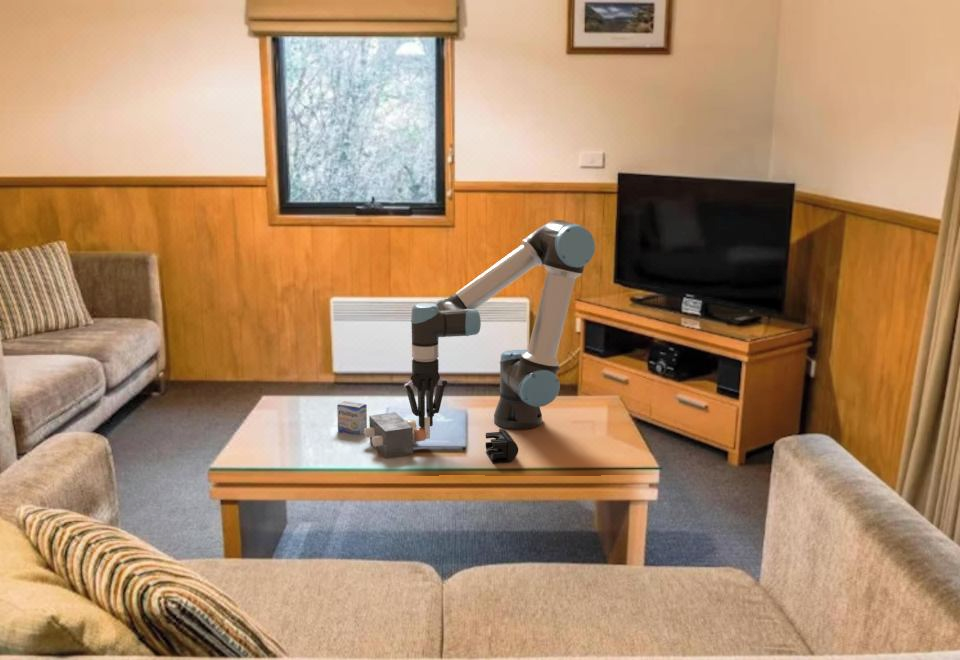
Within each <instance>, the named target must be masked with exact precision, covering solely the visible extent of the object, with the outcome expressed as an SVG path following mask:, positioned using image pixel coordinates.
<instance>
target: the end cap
mask: <svg viewBox="0 0 960 660" xmlns="http://www.w3.org/2000/svg"><path fill="white" fill-rule="evenodd" d="M485 439H490V441H487V442H485V449H486V450H485V453H486V455H487V457H488V458H489V460H490V461H491V463H492V464H494V465H497V464H508V463H510V462H512V461H513V460H514V459H515V458H516V457H517V456H518V454H519V446H518V444H517V442H516V441H515V440H514V439H513V438H512V436H511V435H510V433H509V432H508V431H507V430H506V429H505V428H499V429H498V431H495V432H494V431H493V432H486V433H485Z"/></svg>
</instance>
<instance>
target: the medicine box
mask: <svg viewBox="0 0 960 660" xmlns="http://www.w3.org/2000/svg"><path fill="white" fill-rule="evenodd" d="M336 407H337V408H336V409H337V410H336V411H337V431H338V433H339V432H340V433H345V434H353V435H359V436H360V435H362V434H364V429H365V428H368V425H367V423H368V421H367V420H368V417H367V416H368V414H367V404H365V403H359V402H353V401H347V400H345V401H341V402H339V403H338V404H337V405H336Z"/></svg>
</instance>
